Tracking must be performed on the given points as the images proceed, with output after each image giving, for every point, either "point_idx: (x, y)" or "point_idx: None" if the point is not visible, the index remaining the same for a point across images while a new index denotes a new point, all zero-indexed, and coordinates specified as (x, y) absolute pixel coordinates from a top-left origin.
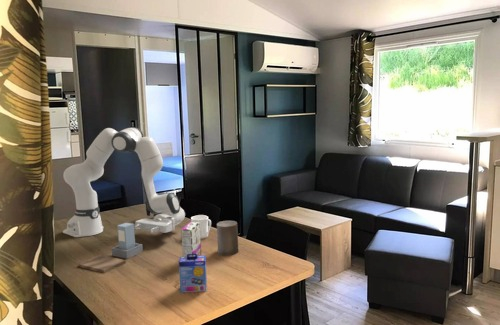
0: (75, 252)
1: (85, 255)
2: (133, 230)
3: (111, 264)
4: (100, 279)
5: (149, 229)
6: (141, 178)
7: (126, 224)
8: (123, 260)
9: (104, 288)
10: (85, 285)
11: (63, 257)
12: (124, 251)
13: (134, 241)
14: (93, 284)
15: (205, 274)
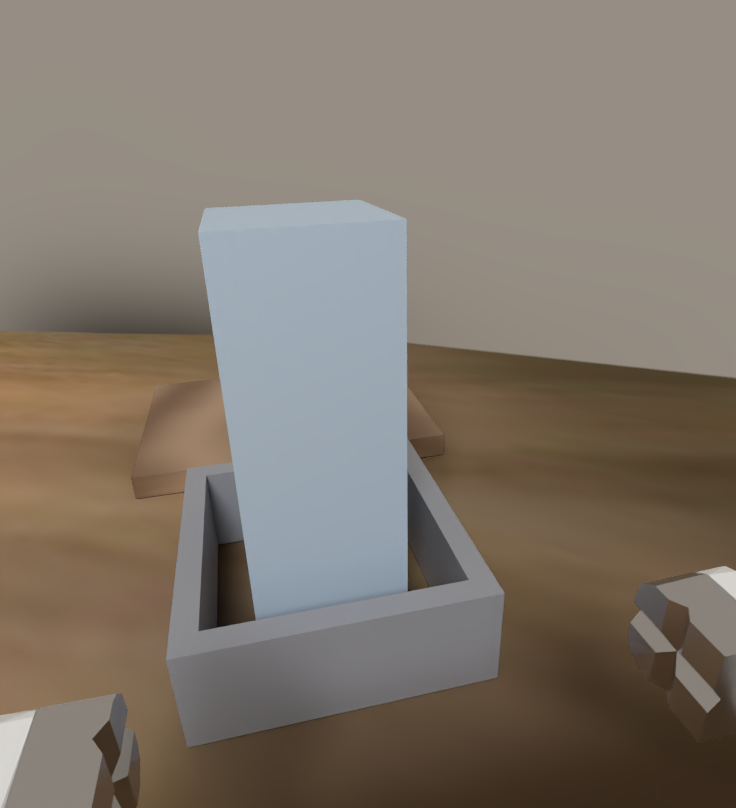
0: (694, 413)
1: (571, 424)
2: (217, 352)
3: (182, 418)
4: (116, 380)
5: (92, 701)
6: None
7: (293, 215)
8: (147, 469)
9: (21, 368)
10: (140, 351)
11: (619, 373)
12: (221, 470)
13: (243, 526)
14: (109, 362)
15: None
